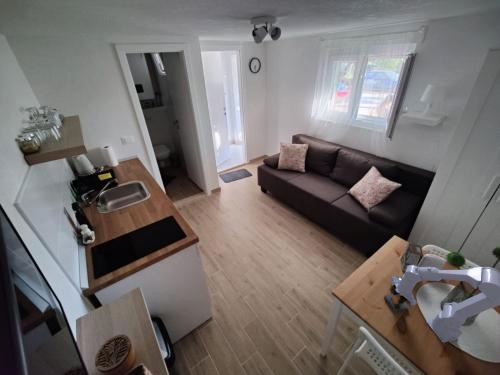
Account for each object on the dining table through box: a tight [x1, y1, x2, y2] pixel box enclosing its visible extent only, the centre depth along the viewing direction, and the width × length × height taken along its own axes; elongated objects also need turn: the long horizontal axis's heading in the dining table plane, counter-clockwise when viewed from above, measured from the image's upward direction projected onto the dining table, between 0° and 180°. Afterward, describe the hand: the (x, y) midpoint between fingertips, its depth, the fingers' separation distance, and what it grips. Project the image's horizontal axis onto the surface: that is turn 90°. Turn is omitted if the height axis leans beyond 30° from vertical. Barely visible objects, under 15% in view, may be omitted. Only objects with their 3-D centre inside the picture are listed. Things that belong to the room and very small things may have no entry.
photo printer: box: [418, 253, 447, 270], centre depth 129 cm, size 10×4×12 cm, turn 61°
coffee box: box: [400, 242, 424, 272], centre depth 131 cm, size 9×6×16 cm
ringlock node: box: [383, 275, 410, 313], centre depth 119 cm, size 17×17×7 cm
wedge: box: [391, 294, 402, 305], centre depth 114 cm, size 2×4×7 cm, turn 99°
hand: (398, 299), depth 114 cm, fingers open, 3 cm apart
